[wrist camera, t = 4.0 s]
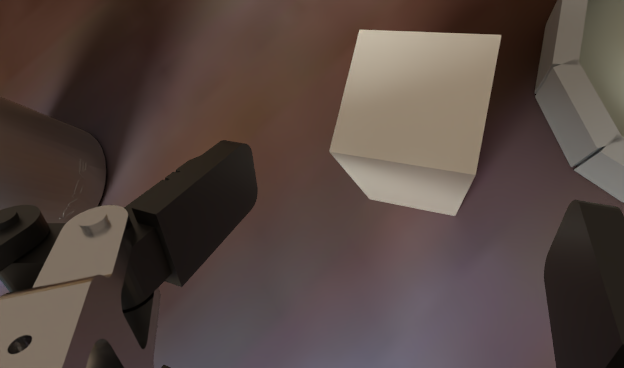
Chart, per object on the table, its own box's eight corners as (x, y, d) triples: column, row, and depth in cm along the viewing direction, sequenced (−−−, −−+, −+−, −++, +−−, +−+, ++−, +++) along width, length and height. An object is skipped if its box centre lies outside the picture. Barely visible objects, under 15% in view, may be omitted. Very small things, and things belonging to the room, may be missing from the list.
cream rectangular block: (369, 199, 21) (329, 151, 12) (386, 123, 21) (359, 29, 13) (454, 215, 19) (475, 175, 11) (470, 133, 20) (501, 34, 11)
